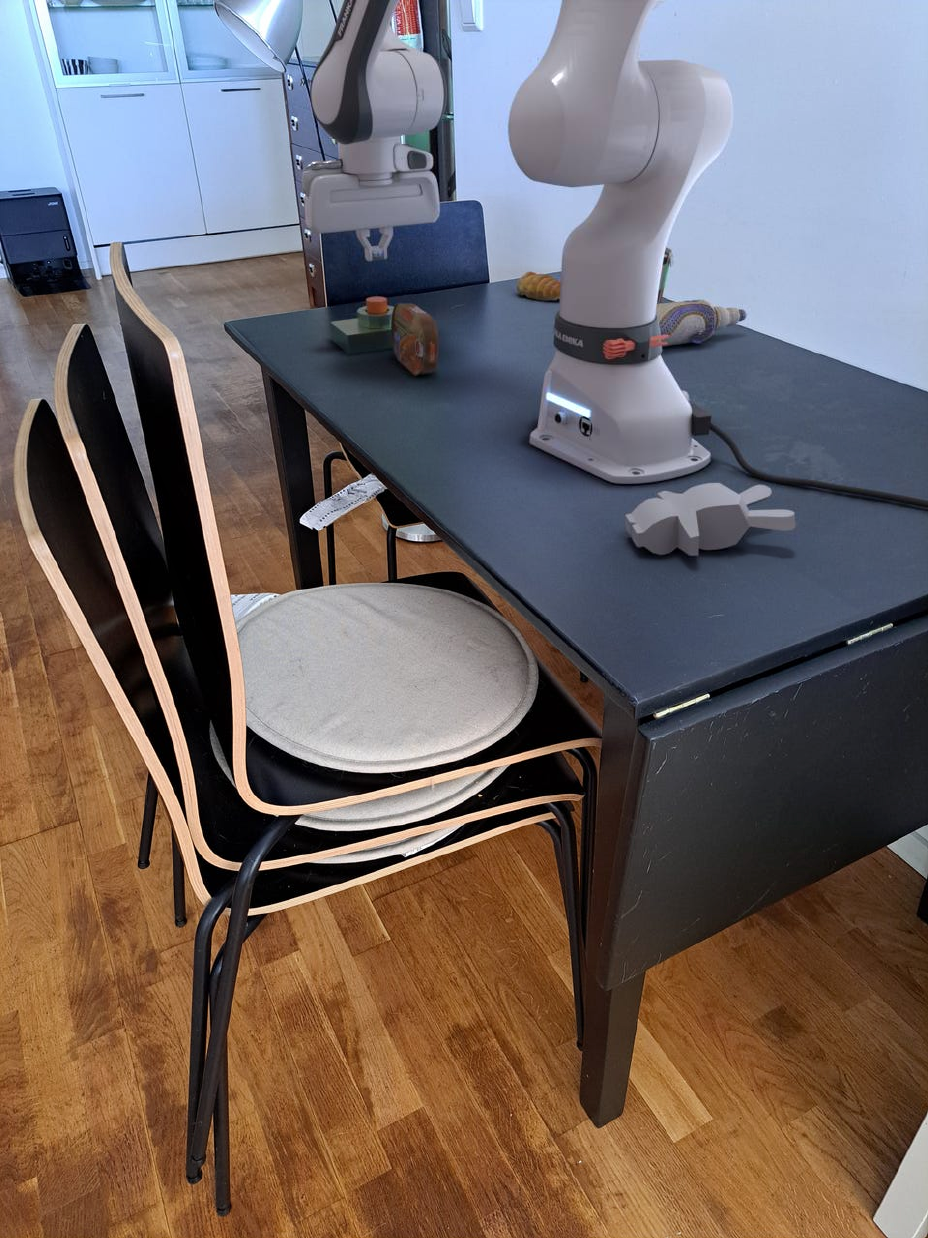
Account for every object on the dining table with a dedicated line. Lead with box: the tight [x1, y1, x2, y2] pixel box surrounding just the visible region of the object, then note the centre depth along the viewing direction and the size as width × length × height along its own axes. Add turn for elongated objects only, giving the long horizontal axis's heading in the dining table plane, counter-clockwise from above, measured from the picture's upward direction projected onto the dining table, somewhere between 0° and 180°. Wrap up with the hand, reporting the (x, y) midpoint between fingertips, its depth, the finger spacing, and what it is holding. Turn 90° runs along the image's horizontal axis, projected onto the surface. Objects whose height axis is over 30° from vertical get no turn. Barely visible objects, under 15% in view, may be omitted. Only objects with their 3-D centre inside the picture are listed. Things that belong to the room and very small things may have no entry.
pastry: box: [516, 271, 561, 302], centre depth 163 cm, size 9×7×4 cm
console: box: [330, 304, 394, 355], centre depth 140 cm, size 8×13×5 cm, turn 116°
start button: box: [365, 296, 388, 313], centre depth 138 cm, size 3×3×2 cm
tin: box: [391, 302, 440, 377], centre depth 129 cm, size 15×3×8 cm, turn 21°
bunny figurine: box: [624, 482, 796, 557], centre depth 86 cm, size 10×5×15 cm
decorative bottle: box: [656, 299, 747, 348], centre depth 138 cm, size 26×8×7 cm, turn 113°
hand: (376, 259), depth 134 cm, fingers closed
